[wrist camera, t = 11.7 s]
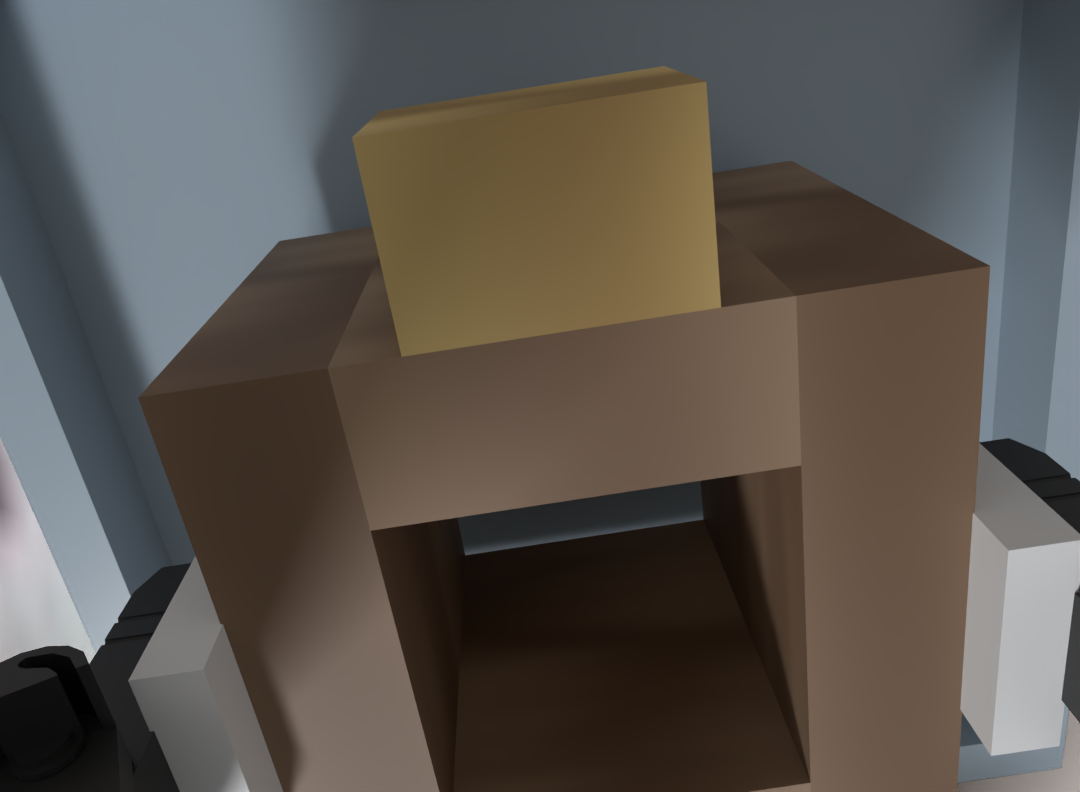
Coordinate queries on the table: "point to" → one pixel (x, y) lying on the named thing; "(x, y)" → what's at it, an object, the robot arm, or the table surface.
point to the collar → (590, 463)
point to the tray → (452, 73)
